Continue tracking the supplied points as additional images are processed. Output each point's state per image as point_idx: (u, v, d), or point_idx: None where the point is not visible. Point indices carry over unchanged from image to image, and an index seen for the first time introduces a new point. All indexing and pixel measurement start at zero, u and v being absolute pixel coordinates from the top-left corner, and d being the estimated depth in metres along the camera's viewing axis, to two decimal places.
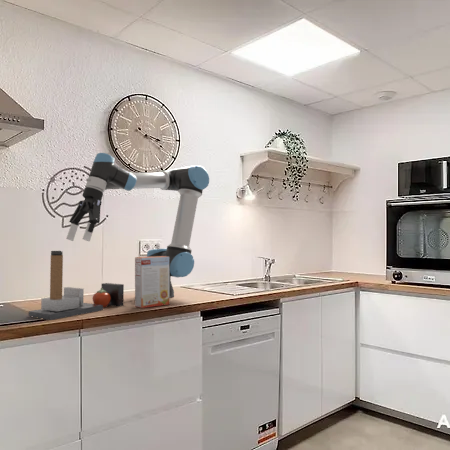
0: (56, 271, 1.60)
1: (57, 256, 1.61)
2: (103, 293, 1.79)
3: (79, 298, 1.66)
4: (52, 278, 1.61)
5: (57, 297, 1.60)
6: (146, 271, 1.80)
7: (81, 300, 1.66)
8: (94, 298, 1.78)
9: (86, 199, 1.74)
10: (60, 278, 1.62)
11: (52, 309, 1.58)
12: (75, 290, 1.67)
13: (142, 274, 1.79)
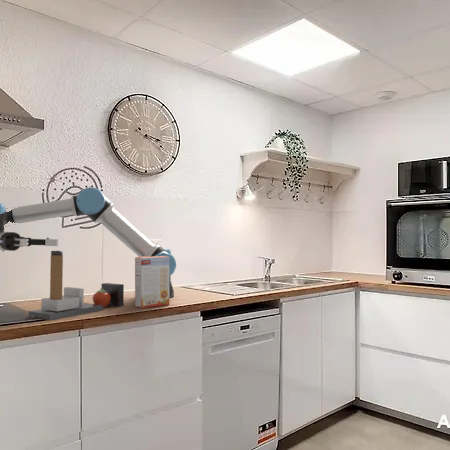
0: (56, 271, 1.60)
1: (57, 256, 1.61)
2: (103, 293, 1.79)
3: (79, 298, 1.66)
4: (52, 278, 1.61)
5: (57, 297, 1.60)
6: (146, 271, 1.80)
7: (81, 300, 1.66)
8: (94, 298, 1.78)
9: None
10: (60, 278, 1.62)
11: (52, 309, 1.58)
12: (75, 290, 1.67)
13: (142, 274, 1.79)
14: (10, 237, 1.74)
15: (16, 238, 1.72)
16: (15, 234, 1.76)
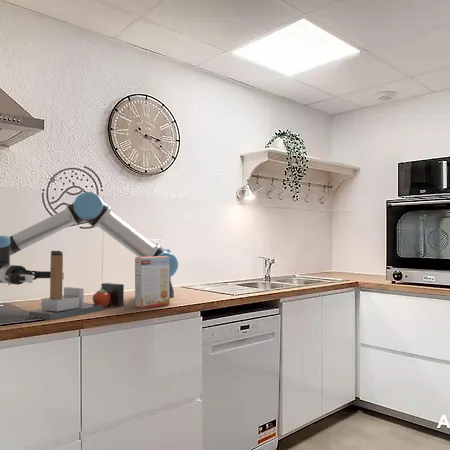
0: (56, 271, 1.60)
1: (57, 256, 1.61)
2: (103, 293, 1.79)
3: (79, 298, 1.66)
4: (52, 278, 1.61)
5: (57, 297, 1.60)
6: (146, 271, 1.80)
7: (81, 300, 1.66)
8: (94, 298, 1.78)
9: None
10: (60, 278, 1.62)
11: (52, 309, 1.58)
12: (75, 290, 1.67)
13: (142, 274, 1.79)
14: (16, 271, 1.71)
15: (22, 272, 1.69)
16: (21, 267, 1.73)
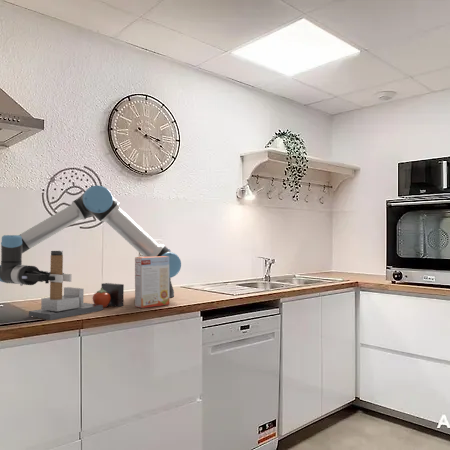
0: (56, 271, 1.60)
1: (57, 256, 1.61)
2: (103, 293, 1.79)
3: (79, 298, 1.66)
4: None
5: (57, 297, 1.60)
6: (146, 271, 1.80)
7: (81, 300, 1.66)
8: (94, 298, 1.78)
9: None
10: None
11: (52, 309, 1.58)
12: (75, 290, 1.67)
13: (142, 274, 1.79)
14: (28, 271, 1.68)
15: None
16: (33, 268, 1.70)
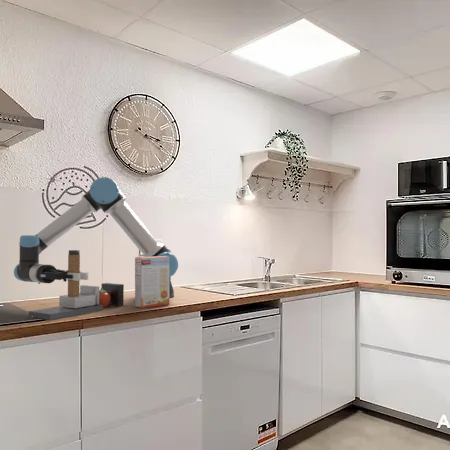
0: (73, 270, 1.67)
1: (74, 255, 1.67)
2: (103, 293, 1.79)
3: (95, 296, 1.72)
4: None
5: (74, 295, 1.67)
6: (146, 271, 1.80)
7: (97, 298, 1.73)
8: None
9: None
10: None
11: (70, 306, 1.65)
12: (91, 288, 1.74)
13: (142, 274, 1.79)
14: (46, 270, 1.75)
15: None
16: (51, 267, 1.76)
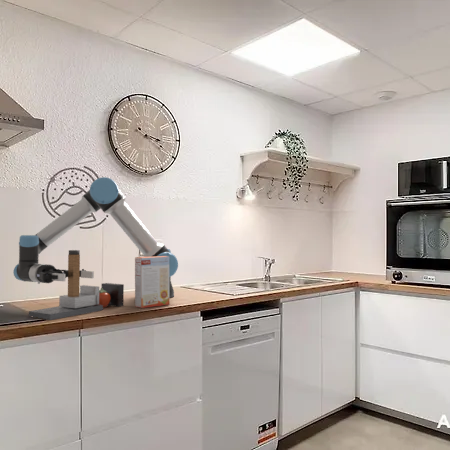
0: (73, 270, 1.67)
1: (74, 255, 1.67)
2: (103, 293, 1.79)
3: (95, 296, 1.72)
4: (70, 276, 1.68)
5: (74, 295, 1.67)
6: (146, 271, 1.80)
7: (97, 297, 1.73)
8: None
9: None
10: (77, 276, 1.69)
11: (70, 306, 1.65)
12: (91, 288, 1.74)
13: (142, 274, 1.79)
14: (46, 270, 1.75)
15: (52, 271, 1.73)
16: (50, 266, 1.77)
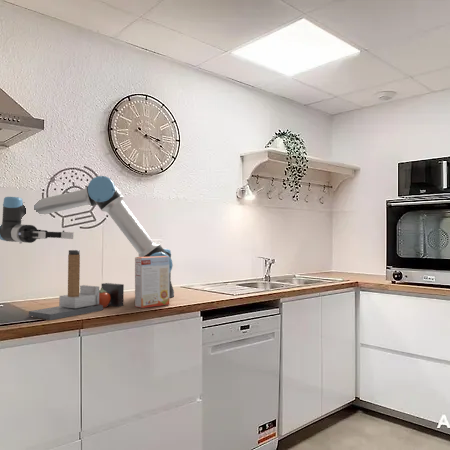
0: (73, 270, 1.67)
1: (74, 255, 1.67)
2: (103, 293, 1.79)
3: (95, 296, 1.72)
4: (70, 276, 1.68)
5: (74, 295, 1.67)
6: (146, 271, 1.80)
7: (97, 297, 1.73)
8: None
9: None
10: (77, 276, 1.69)
11: (70, 306, 1.65)
12: (91, 288, 1.74)
13: (142, 274, 1.79)
14: (28, 230, 1.82)
15: None
16: (32, 227, 1.84)
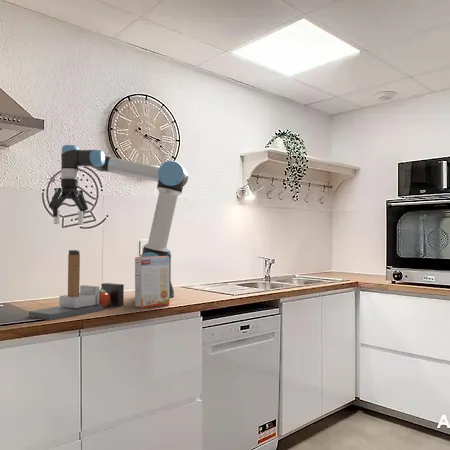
0: (73, 270, 1.67)
1: (74, 255, 1.67)
2: (103, 293, 1.79)
3: (95, 296, 1.72)
4: (70, 276, 1.68)
5: (74, 295, 1.67)
6: (146, 271, 1.80)
7: (97, 297, 1.73)
8: None
9: None
10: (77, 276, 1.69)
11: (70, 306, 1.65)
12: (91, 288, 1.74)
13: (142, 274, 1.79)
14: (69, 186, 2.01)
15: (68, 194, 2.01)
16: (74, 186, 2.02)
